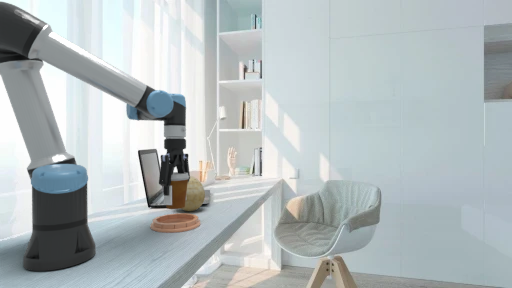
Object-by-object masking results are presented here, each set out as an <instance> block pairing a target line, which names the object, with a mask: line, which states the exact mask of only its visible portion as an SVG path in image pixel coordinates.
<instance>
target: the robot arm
mask: <svg viewBox="0 0 512 288" xmlns="http://www.w3.org/2000/svg"><path fill="white" fill-rule="evenodd" d="M44 62H45V63H47V64H49V65H50V66H52V67H55V68H57V69H58V70H60V71H62V72H63V73H66V74H67V75H70V76H72V77H74V78H76V79H79V80H80V81H82V82H84V83H86V84H88V85H89V86H92V87H94V88H96V89H98V90H100V91H102V92H104V93H105V94H107V95H110V96H111V97H113V98H115V99H118V100H119V101H121V102H123V103H124V104H126V106H125V107H126V111H125V112H126V116H127V118H128V119H129V120H130V121H131V120H133V121H139V122H140V121H153V122H154V121H157V122H158V121H159V122H163V137H164V138H165V139H163V149H164V150H166V153H165V154H161V155H160V167H159V177H158V178H159V180H158V184H159V185H160V186H161V187H163V189H162V190H163V205H164V206H166V205H172V186H170V184H171V175H173V172H174V171H175V168H176V172H178V173H182V174H184V172H185V173H188V176H189V179H190V176H191V175H190V165H189V153H184V150H186V149H187V139H185V138H186V136H187V129H186V128H187V123H186V122H187V104H186V101H187V100H186V97H185V96H184V94H181V93H170V92H167V91H165V90H161V89H159V90H158V89H155V88H153V87H151V86H149V85H147V84H146V83H144V82H142V81H140V80H138V79H137V78H135V77H133V76H132V75H130V74H128V73H126V72H124V71H123V70H121V69H119V68H117V66H116V67H115V66H114V65H112V64H111V63H109V62H108V61H105V60H103V59H102V58H100V57H99V56H96V55H95V54H93V53H91V52H90V51H88V50H86V49H84V48H83V47H81V46H79V45H77V44H75V43H74V42H73V41H70V40H68V39H67V38H65V37H64V36H63V37H62V36H61V35H59V34H58V33H56V32H55V31H53V29H52V26H51V25H50V24H49V23H47V22H45V21H44V20H42V19H40V18H38V17H37V16H34V15H33V14H31V12H28V11H27V10H24V9H23V8H21V7H18V6H17V5H14V4H12V3H10V2H5V1H0V77H1V80H2V82H3V85H4V88H5V92H6V93H7V97H8V100H9V102H10V104H11V107H12V111H13V113H14V117H15V119H16V122H17V126H18V127H19V130H20V133H21V136H22V140H23V142H24V145H25V148H26V150H27V153H28V156H29V159H30V163H29V164H28V165H27V167H26V170H27V173H28V177H29V179H30V185H31V206H32V207H31V211H32V212H31V216H32V219H31V220H32V221H31V222H32V225H31V227H32V228H31V229H32V230H31V231H32V232H31V235H30V238H29V241H28V244H27V246H26V249H25V251H24V255H23V259H22V261H23V262H22V263H23V268H24V269H26V270H29V271H35V272H44V271H45V272H46V271H55V270H60V269H65V268H70V267H73V266H76V265H79V264H82V263H84V262H86V261H88V260H90V259H92V258H93V257H94V256H96V243H95V240H94V238H93V235H92V232H91V230H90V227H89V222H88V181H89V176H88V171H87V168H86V167H85V166H83V165H81V164H77V161H76V158H75V156H74V155H73V154H70V153H68V152H67V150H66V146H65V144H64V141H63V137H62V136H61V132H60V129H59V127H58V123H57V120H56V117H55V114H54V111H53V107H52V105H51V102H50V99H49V96H48V93H47V90H46V86H45V84H44V81H43V78H42V75H41V73H40V71H41V69H42V68H43V66H44ZM189 179H188V182H189ZM167 181H168V182H167Z"/></svg>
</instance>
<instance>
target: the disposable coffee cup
mask: <svg viewBox="0 0 512 288" xmlns="http://www.w3.org/2000/svg"><path fill="white" fill-rule="evenodd" d="M188 179H189V176H188V173H185V172H184V174H182V173H178V171H175V172H173V175H171V184H170V186H172V205H165V206H166V209H169V210H178V209H179V210H181V208H184V207H185V201H186V193H187V184H188ZM167 182H168V181H167Z"/></svg>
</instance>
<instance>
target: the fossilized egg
mask: <svg viewBox="0 0 512 288" xmlns="http://www.w3.org/2000/svg"><path fill="white" fill-rule="evenodd" d="M205 197H206V191H205V188H204V185H203V184H202V182H201V181H200V180H199V179H198V178H196V177H195V176H192V175H190V179H189V182H188V184H187V193H186V201H185V207H184V208H180V210H183V211H185V212H195V211H197V210H198V209H200V207H202V205H203V204H204V201H205V200H206V199H205Z"/></svg>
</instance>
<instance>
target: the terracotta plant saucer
mask: <svg viewBox="0 0 512 288" xmlns="http://www.w3.org/2000/svg"><path fill="white" fill-rule="evenodd" d="M200 226H201V219H199V216H198V215H196V214H193V213H188V212H187V213H185V212H184V213H181V212H180V213H170V214H168V213H167V214H164V215H159V216H156V217H154V218H153V219H152V222H151V223H150V230H151V231H153V232H157V233H163V234H165V233H167V234H171V233H175V234H176V233H182V232H188V231H193V230H195V229H197V228H199V227H200Z"/></svg>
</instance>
